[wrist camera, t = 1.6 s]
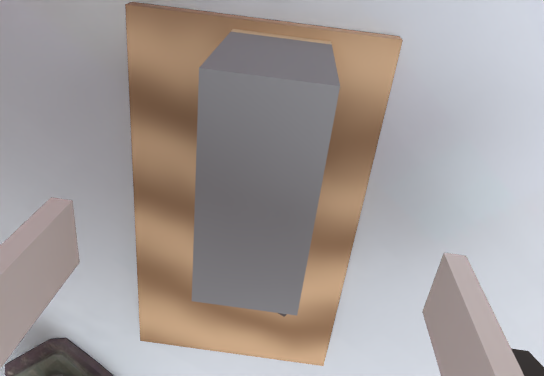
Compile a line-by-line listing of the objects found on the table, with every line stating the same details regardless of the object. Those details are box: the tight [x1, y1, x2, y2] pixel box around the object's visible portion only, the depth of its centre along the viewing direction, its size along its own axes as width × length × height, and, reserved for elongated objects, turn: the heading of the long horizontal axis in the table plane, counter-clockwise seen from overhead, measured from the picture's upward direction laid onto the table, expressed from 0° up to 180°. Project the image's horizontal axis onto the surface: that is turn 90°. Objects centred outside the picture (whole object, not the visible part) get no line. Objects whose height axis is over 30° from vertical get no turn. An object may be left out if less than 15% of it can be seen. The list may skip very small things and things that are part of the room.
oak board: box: [125, 2, 403, 366], centre depth 29 cm, size 24×14×1 cm, turn 174°
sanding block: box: [192, 29, 340, 316], centre depth 22 cm, size 11×5×8 cm, turn 174°
